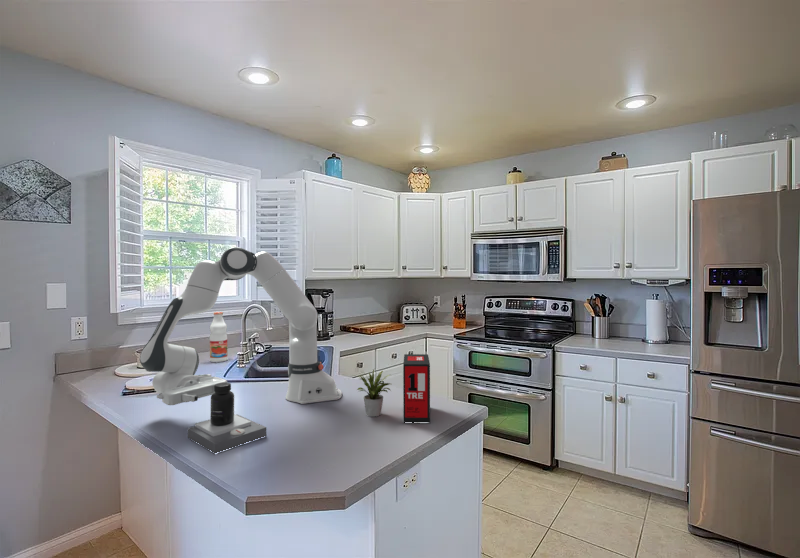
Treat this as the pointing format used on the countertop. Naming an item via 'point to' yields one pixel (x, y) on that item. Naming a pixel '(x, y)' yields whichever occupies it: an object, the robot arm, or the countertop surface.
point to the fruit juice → (218, 339)
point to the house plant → (373, 394)
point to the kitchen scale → (226, 433)
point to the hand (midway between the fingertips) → (209, 394)
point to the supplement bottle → (222, 405)
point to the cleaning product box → (416, 388)
